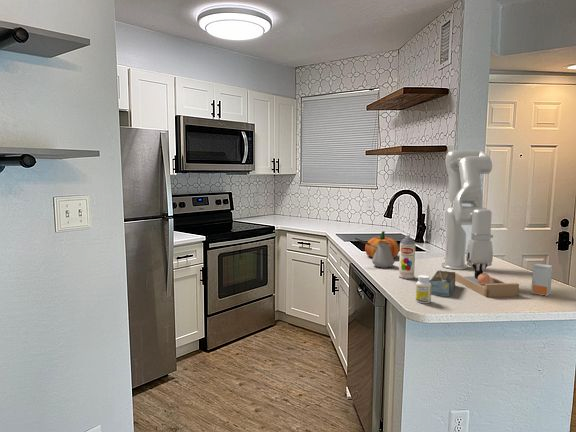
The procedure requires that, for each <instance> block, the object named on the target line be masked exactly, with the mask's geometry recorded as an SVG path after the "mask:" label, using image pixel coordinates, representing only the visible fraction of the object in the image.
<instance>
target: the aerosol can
mask: <svg viewBox="0 0 576 432" xmlns="http://www.w3.org/2000/svg"><path fill="white" fill-rule="evenodd" d="M415 261H416V241H414V239H413V238H412V237H411V235H410V234H406V235H405V237H404V238H403V239H402V240H400V243H399V263H398V264H399V268H398V269H399V270H398V272H399V273H398V278H399V279H401V278H402V279H401V280H407V279H411V280H414V279H415V269H416V268H415V263H416V262H415Z"/></svg>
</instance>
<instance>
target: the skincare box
mask: <svg viewBox="0 0 576 432" xmlns="http://www.w3.org/2000/svg"><path fill="white" fill-rule="evenodd" d="M552 276H553V265H550V264H544V263H542V264H541V263H533V266H532V279H531V290H530V293H531V294H534V295H538V294H539V296H543V295H545V296H544V297H549V296H550V295H551V290H552V280H553V279H552ZM549 294H550V295H549Z"/></svg>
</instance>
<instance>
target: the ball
mask: <svg viewBox="0 0 576 432" xmlns="http://www.w3.org/2000/svg"><path fill="white" fill-rule="evenodd" d="M490 277H491V276H490V275H489V274H487V273H485V272H483V273H482V274H480V275H479V276H478V282H479V283H480V284H482V285H485V284H489V283H490V281H491V279H490Z"/></svg>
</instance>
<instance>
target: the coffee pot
mask: <svg viewBox="0 0 576 432" xmlns="http://www.w3.org/2000/svg"><path fill="white" fill-rule="evenodd" d="M355 240H357V242H360V243H362V244H365V245H366V244H367V245H370V246H373V247H375V248H377V250H376V252H375V255H374V257H372V259H371V262H372V264H373V265H374V266H375V267H376V266H377V268H379V267H381V268H382V269H389V268H391V267H392V266H393V265H394V264H395V260H394V258H393V256H392V254H391V251H390V249H389V243H390V242H387V241H378V242H377V243H378V245H379V246H378V247H377V246H374V245H372V244H370V243H368V241H365V240H363V239H360V238H357V237H354V238H353V242H355ZM388 267H389V268H388ZM381 268H380V269H381Z"/></svg>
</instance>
